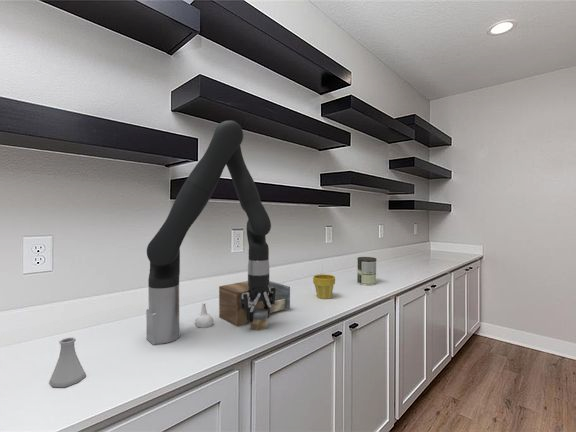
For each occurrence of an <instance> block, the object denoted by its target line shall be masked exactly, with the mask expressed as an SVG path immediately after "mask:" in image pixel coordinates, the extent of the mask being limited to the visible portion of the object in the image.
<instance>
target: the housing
mask: <svg viewBox="0 0 576 432" xmlns="http://www.w3.org/2000/svg"><path fill="white" fill-rule="evenodd" d="M248 290H249V287H248V280H246V281H240V282H236V283H235V282H234V283H231V284H224V285H219V286H218V291H219V292H218V293H219V294H218V299H219V300H218V305H219V309H218V314H219V315H218V317H219V318H220V319H221V320H223V321H226V322H228V323H230V324H232V325H234V326H235V327H241V326H244V325H247V324H251V323H250V322H248V320H247V311H244V310H242V307H241V296H240V294H241V293H246V292H248ZM267 296H268V294H267ZM248 298H249V296H248ZM248 300H249V299H248ZM252 302H254V301H252ZM264 306H265V305H264V304H263V302H262V301H259V302H257V304H256V306H254V308H264Z"/></svg>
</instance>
